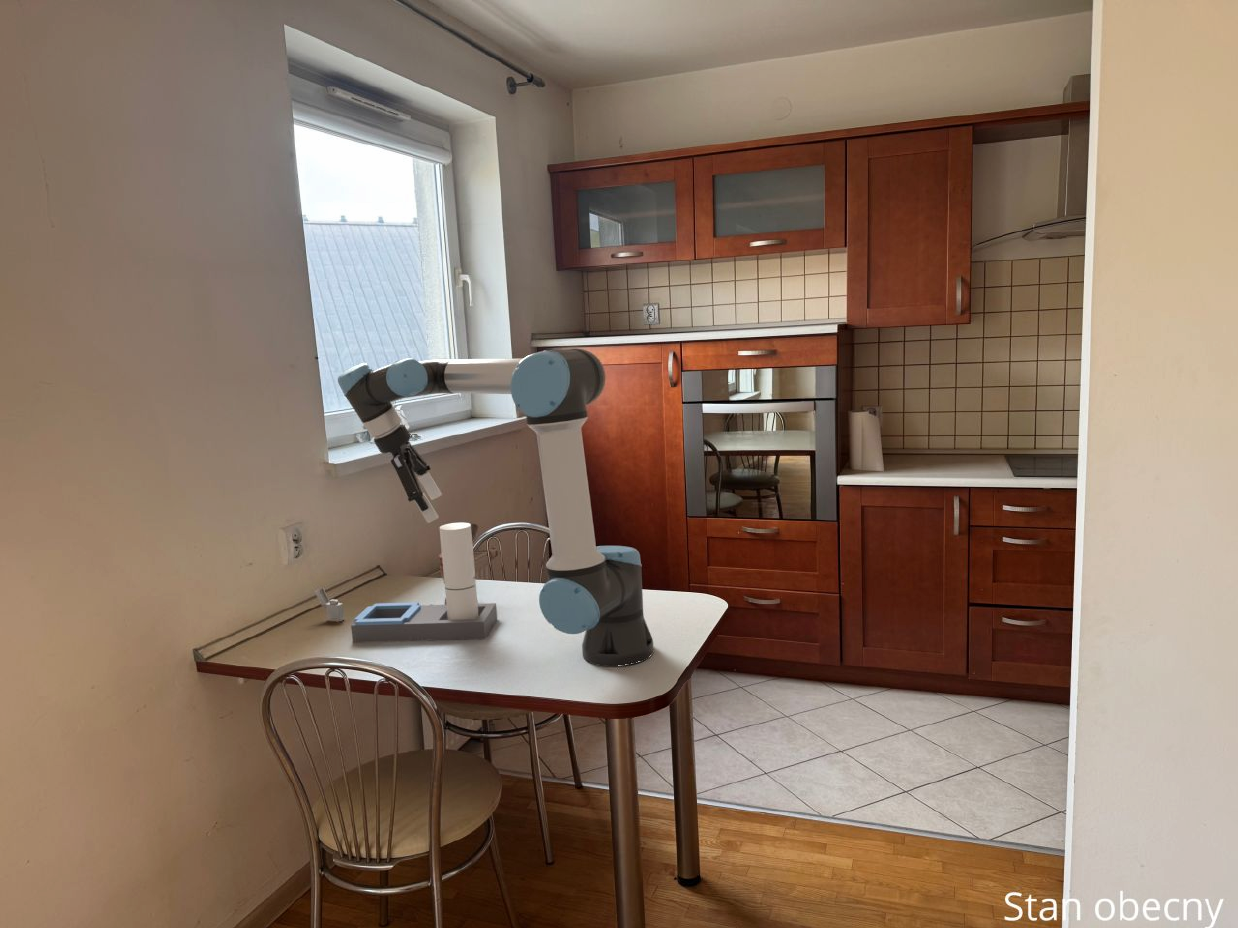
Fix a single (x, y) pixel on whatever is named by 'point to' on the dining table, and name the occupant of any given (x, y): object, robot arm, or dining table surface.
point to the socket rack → (419, 623)
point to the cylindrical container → (459, 571)
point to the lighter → (330, 606)
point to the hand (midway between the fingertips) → (435, 508)
